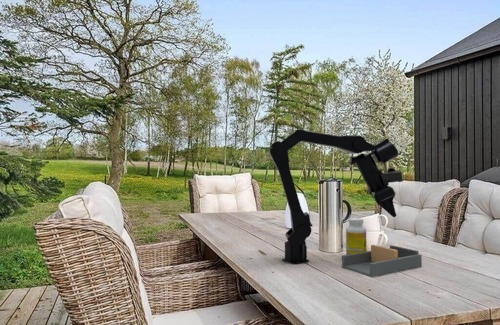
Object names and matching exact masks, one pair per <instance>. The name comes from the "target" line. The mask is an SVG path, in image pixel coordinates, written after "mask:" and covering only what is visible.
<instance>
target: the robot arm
mask: <svg viewBox="0 0 500 325" xmlns="http://www.w3.org/2000/svg"><path fill="white" fill-rule="evenodd" d="M300 142H301V143H308V144H313V145H318V146H319V145H320V146H324V147H329V148H330V147H331V148H335V149H338V150H340V151H343V152H345V153H349V154H350V155H351V154H352V155H354V154H355V155H356V156H350V157H349V161H348V164H347V165H349V166H353V165H355V166H356V167H357V169H358V171H359V173H360V175H361V177H362V180H363V181H364V183H365V184H366V190H367V192H368V194H369V195H370V197H372V198H373V199H374V201H375V202H376V203H377V205H379V206H380V207H381V208H382V209H383V210H384V211H386V212H387V213H388V214H389V215H390V216H391V217H392V218H396V217H397V213H396V212H397V211H396V209H395V204H394V198H395V196H396V192H395V190H394V188H393V187H392V186H390V184H389V183H397V182H398V183H403V181H404V179H403V171H401V170H398V169H397V170H395V169H394V167H388V168H387V170H386V171H382V170H381V169H379V167H378V165H377V164H379V163H380V165H384V164H386V163H387V162H389V161H391V160H393V159H395V158H397V157H399V152H398V149H397V146H395V145H394V143H392V142H391V141H390V139H389V138H385V139H382V140H381V141H380V142H378V143H375V144H373V143H370V142H368V141H366V139H365V138H364V136H361V135H358V134H357V135H335V134H334V135H333V134H329V133H322V132H317V131H310V130H305V129H302V128H298V129H296V130H295V131H294V132H292V133H291V134H290V135H288V136H287V137H286V138H284V139H283V140H282V141H275V142H273V143H272V144H270V146H269V149H268V153H269V156H270V158H271V160H272V162H273V164H274V166H275V167H276V169H277V171H278V175H279V179H280V181H281V185H282V188H283V192H284V195H285V199H286V202H287V205H288V208H289V214H290V215H289V216H290V224H291V227H290V228H289V229H288V230H287V231H286V232H285V234H284V235H285V237H286V240H287V241H285V242H284V257H283V258H281V260H282V261H284V262H287V263H290V264H293V265H294V264H301V263H306V262H307V263H308V262H310V259H307V258H308V252H307V251H308V250H307V249H308V247H307V243H306V241H307V238H309V237H310V235H311V234H312V227H313V226H314V225H313V224H312V222H311V217H310V214H309V213H308V212H307V211H303V208H302V206H301V203H300V199H299V197H298V196H299V195H298V193H297V189H296V186H295V183H294V180H293V176H292V172H291V170H290V158H289V157H290V156H289V151H290V150H291V149H292V148H294V147H295V146H296V145H298V144H299V143H300ZM366 152H367V153H366ZM364 153H366V154H364ZM357 154H359V155H357Z"/></svg>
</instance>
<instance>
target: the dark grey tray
mask: <svg viewBox="0 0 500 325" xmlns="http://www.w3.org/2000/svg"><path fill="white" fill-rule="evenodd" d="M389 248H390V249H395V250H398V258H396V259H390V260H385V261H380V262H372V261H371V250H370V251H369V250H368V251H367V252H361V253H355V254H349V255H346V254H343V255H341V269H345V270H348V271H351V272H355V273H358V274H361V275H364V276H367V277H371V278H374V277H375V278H376V277H380V276H385V275H389V274H394V273H399V272H402V271H403V272H404V271H407V270H409V271H410V270H412V269H417V268H421V267H423V266H422V264H423V263H422V262H423V261H422V260H423V259H422V254H421V253H420V254H419V250H417V249H413V248H407V247H403V246H397V245H393V244H392V245H389Z"/></svg>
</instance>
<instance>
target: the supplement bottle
mask: <svg viewBox="0 0 500 325" xmlns="http://www.w3.org/2000/svg"><path fill="white" fill-rule="evenodd" d="M363 224H364V219H362V218H357V217H356V218H354V217H353V218H349V219H348V226H347V227H346V228H345V255H349V254H355V253H361V252H367V228H366V227H365V226H363Z"/></svg>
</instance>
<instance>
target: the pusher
mask: <svg viewBox="0 0 500 325" xmlns="http://www.w3.org/2000/svg"><path fill="white" fill-rule="evenodd" d="M370 251H371V261H372V262H380V261H385V260H390V259H396V258H398V250H395V249H390V247H385V246H381V245H377V244H371V245H370Z"/></svg>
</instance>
